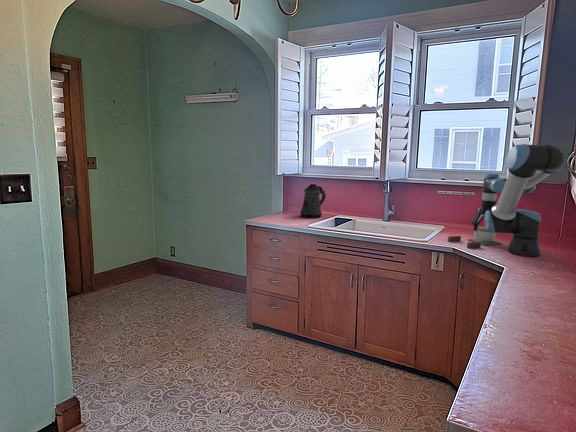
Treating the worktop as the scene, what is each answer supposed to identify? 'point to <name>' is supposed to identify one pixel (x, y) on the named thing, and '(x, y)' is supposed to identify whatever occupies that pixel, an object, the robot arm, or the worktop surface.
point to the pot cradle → (469, 245)
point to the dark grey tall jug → (312, 202)
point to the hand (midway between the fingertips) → (485, 235)
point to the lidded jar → (485, 235)
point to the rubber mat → (485, 242)
